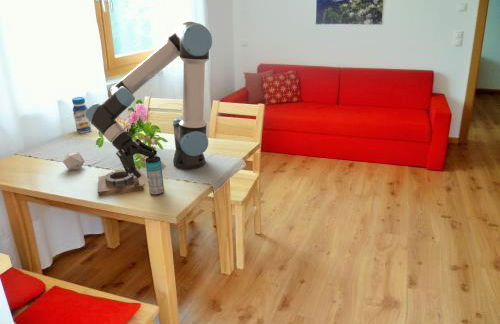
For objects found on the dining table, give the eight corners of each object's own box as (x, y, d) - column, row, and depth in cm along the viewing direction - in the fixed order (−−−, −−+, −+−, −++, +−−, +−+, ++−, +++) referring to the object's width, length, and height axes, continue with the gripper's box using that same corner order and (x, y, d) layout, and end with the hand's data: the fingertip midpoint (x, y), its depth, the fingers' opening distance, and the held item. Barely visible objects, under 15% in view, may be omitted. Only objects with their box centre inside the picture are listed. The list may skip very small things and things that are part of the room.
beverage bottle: (94, 128, 252) (88, 96, 244) (86, 133, 244) (80, 100, 236) (81, 128, 253) (75, 96, 245) (73, 132, 246) (67, 99, 238)
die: (73, 175, 190) (83, 157, 190) (56, 165, 190) (67, 147, 190) (80, 174, 198) (90, 156, 198) (64, 165, 198) (74, 147, 198)
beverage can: (166, 190, 172) (162, 156, 166) (160, 196, 167) (156, 162, 161) (153, 188, 174) (149, 155, 168) (147, 195, 168) (142, 161, 162)
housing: (141, 174, 187) (139, 164, 185) (143, 189, 173) (142, 178, 171) (99, 180, 183) (97, 170, 181) (98, 196, 168) (96, 185, 166)
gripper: (130, 132, 178) (165, 168, 179) (94, 153, 156) (134, 194, 157) (140, 121, 174) (175, 158, 176) (103, 141, 152) (144, 183, 154)
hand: (156, 175), depth 167 cm, fingers open, 13 cm apart
